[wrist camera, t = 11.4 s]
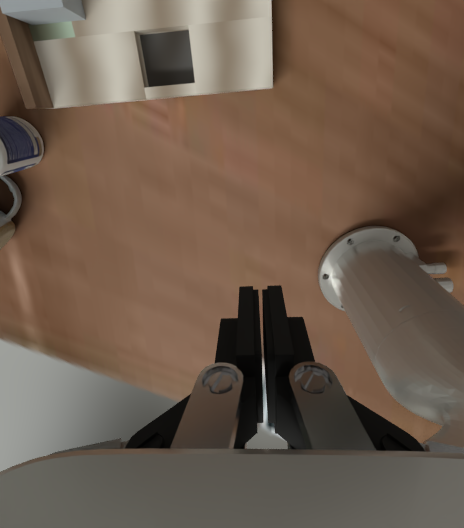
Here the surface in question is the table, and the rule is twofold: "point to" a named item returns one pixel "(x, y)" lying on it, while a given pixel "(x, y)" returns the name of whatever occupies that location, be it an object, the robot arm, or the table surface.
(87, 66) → the board
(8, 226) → the ceramic mug
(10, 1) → the block
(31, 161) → the pill bottle
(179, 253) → the table surface
